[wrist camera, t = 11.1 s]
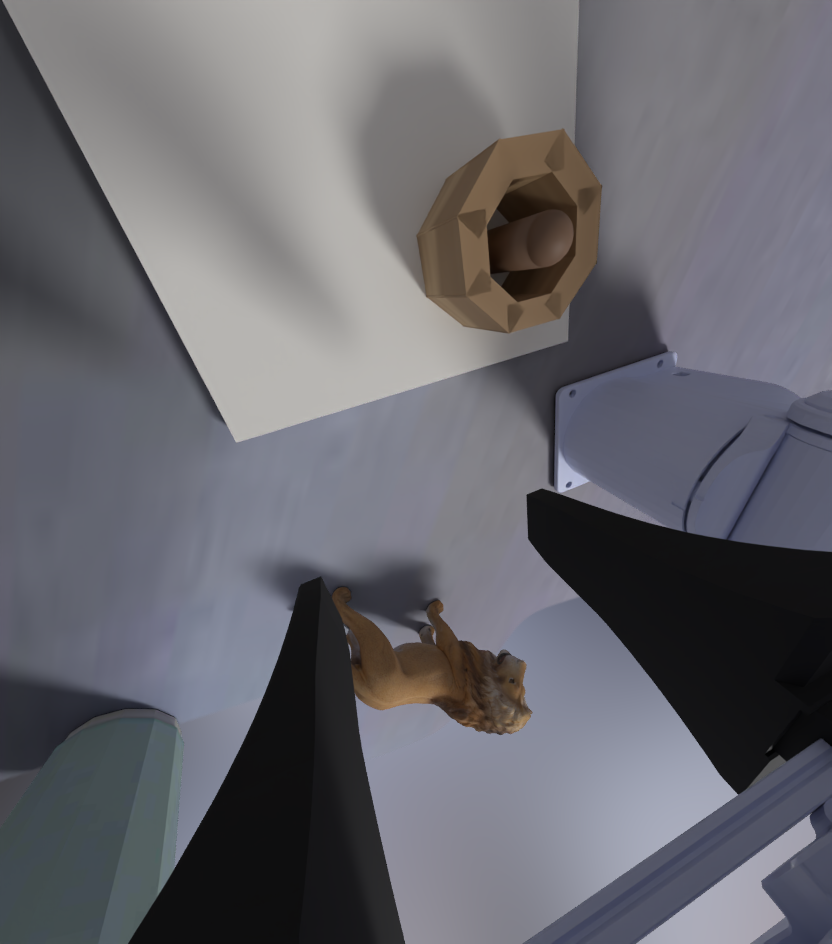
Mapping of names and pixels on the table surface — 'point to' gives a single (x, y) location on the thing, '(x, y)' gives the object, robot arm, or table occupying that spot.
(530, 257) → the rod
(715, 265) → the table surface
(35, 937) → the disposable coffee cup
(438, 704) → the lion figurine
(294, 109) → the white flat rectangular panel
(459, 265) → the oak bead
